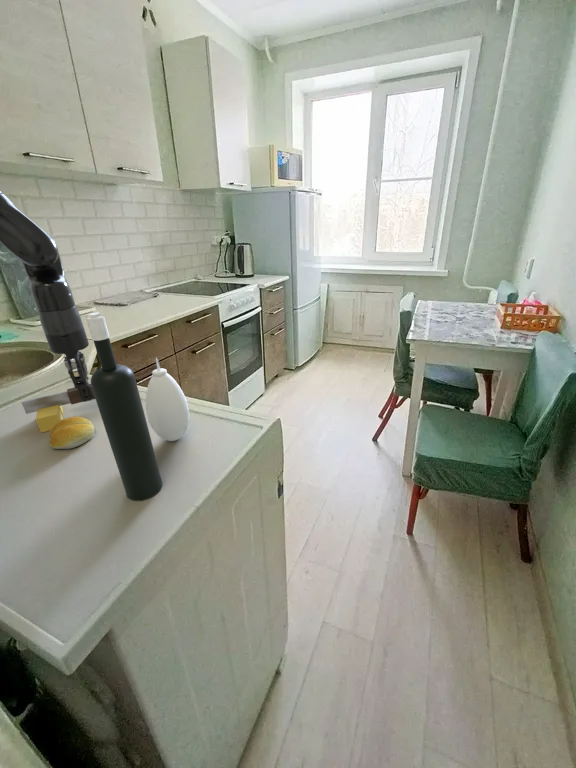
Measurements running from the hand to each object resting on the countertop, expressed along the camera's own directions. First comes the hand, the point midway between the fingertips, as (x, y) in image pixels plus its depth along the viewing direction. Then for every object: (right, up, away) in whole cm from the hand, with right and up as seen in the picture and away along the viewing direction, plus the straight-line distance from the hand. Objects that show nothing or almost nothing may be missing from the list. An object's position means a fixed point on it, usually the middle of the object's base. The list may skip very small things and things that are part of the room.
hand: (87, 397), depth 85 cm
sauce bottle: (+25, -8, -12) cm, 28 cm away
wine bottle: (+24, -15, -25) cm, 37 cm away
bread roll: (+3, -8, -10) cm, 13 cm away
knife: (-3, -1, -1) cm, 4 cm away
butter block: (-5, -6, -5) cm, 9 cm away
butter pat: (-8, -4, 0) cm, 9 cm away
